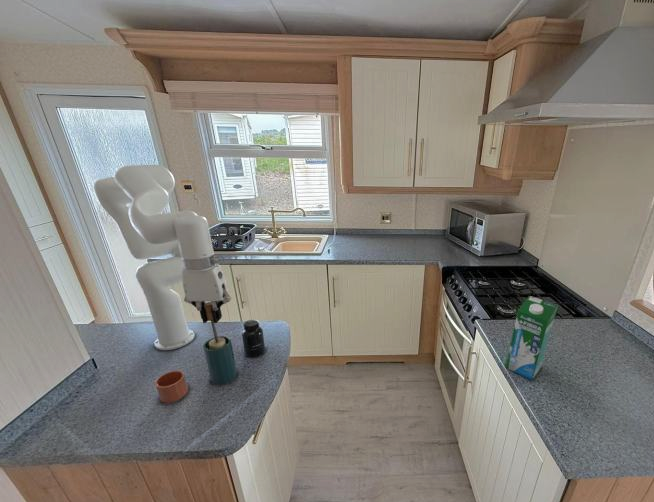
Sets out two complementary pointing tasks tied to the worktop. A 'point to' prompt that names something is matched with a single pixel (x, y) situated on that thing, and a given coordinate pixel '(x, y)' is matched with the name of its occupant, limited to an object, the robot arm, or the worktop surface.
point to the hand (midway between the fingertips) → (212, 320)
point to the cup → (220, 362)
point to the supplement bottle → (253, 338)
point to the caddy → (171, 386)
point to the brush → (216, 342)
